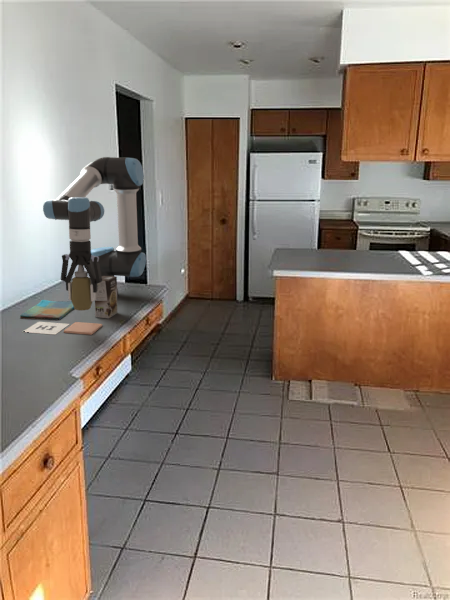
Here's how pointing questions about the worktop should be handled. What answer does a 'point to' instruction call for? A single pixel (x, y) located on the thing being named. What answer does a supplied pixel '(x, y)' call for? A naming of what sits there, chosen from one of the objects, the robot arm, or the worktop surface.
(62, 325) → the white flat square slab
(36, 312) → the dish towel
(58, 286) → the worktop surface
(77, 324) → the coaster pad
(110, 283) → the coffee box
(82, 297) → the squeeze bottle
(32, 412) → the worktop surface
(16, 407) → the worktop surface
